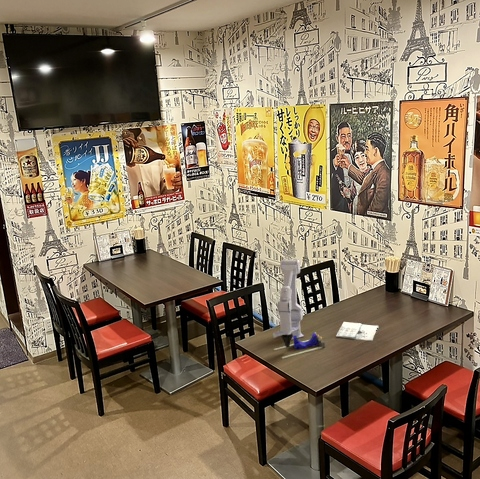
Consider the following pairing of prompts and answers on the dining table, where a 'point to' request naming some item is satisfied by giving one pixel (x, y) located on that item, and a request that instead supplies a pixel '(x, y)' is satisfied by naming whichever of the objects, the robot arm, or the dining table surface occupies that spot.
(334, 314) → the dining table surface
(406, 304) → the dining table surface
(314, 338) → the cable clip
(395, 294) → the dining table surface
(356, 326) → the open book
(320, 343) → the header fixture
